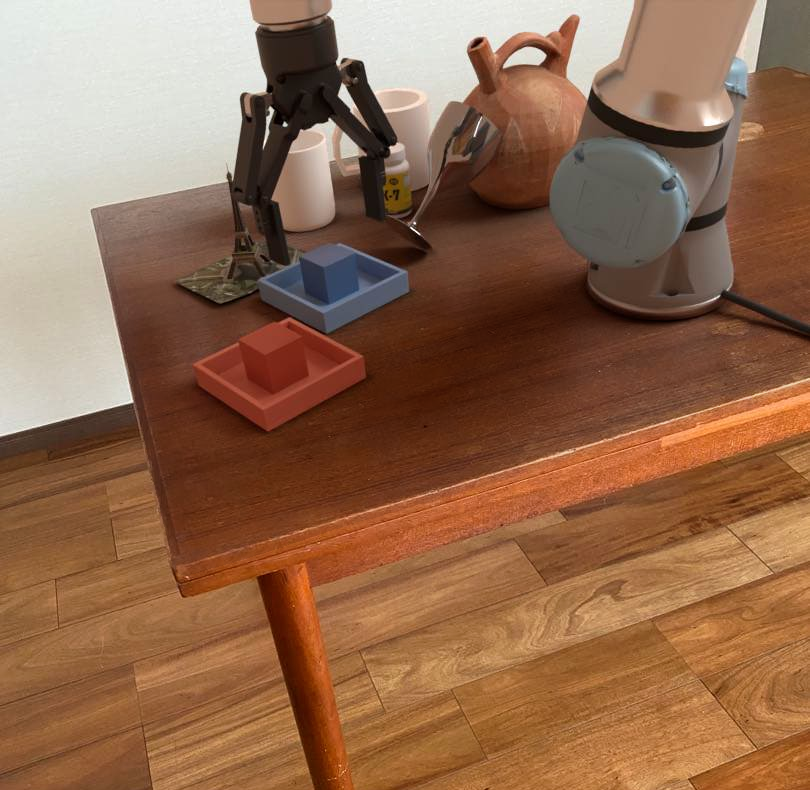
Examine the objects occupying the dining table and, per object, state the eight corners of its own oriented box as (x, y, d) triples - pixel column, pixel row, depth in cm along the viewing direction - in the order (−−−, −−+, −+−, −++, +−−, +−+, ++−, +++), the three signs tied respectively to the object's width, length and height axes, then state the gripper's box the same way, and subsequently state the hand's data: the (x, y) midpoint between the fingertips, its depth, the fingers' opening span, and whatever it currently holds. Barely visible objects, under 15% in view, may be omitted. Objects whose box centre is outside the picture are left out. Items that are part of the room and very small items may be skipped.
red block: (309, 375, 89) (302, 335, 86) (273, 394, 87) (264, 354, 83) (282, 360, 91) (274, 321, 88) (247, 378, 89) (237, 339, 86)
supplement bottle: (371, 218, 117) (364, 153, 111) (385, 204, 120) (378, 139, 114) (404, 221, 115) (399, 155, 110) (418, 206, 119) (413, 141, 113)
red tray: (366, 377, 88) (363, 355, 87) (267, 432, 83) (262, 410, 81) (293, 337, 95) (289, 316, 94) (198, 385, 90) (192, 364, 88)
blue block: (359, 290, 101) (354, 252, 98) (329, 304, 99) (323, 267, 96) (335, 278, 104) (329, 241, 101) (304, 293, 102) (298, 256, 99)
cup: (304, 237, 114) (291, 157, 107) (244, 218, 121) (228, 141, 114) (349, 214, 118) (338, 136, 112) (288, 197, 125) (275, 121, 118)
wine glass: (439, 261, 109) (506, 154, 108) (429, 237, 101) (500, 122, 100) (387, 230, 111) (452, 125, 109) (372, 204, 103) (442, 91, 102)
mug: (346, 203, 121) (336, 122, 114) (333, 177, 129) (322, 99, 122) (441, 186, 123) (437, 104, 116) (422, 161, 130) (417, 83, 123)
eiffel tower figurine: (273, 241, 114) (252, 133, 105) (322, 262, 108) (305, 150, 99) (175, 284, 107) (144, 173, 98) (222, 309, 102) (194, 194, 93)
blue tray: (409, 291, 101) (407, 271, 99) (326, 334, 95) (323, 313, 94) (342, 262, 108) (339, 242, 106) (261, 300, 103) (257, 280, 101)
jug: (552, 156, 128) (556, -3, 114) (617, 199, 115) (630, 25, 101) (433, 184, 124) (423, 23, 110) (487, 231, 111) (483, 55, 98)
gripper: (368, -13, 91) (391, 194, 105) (158, 50, 79) (216, 272, 94) (417, -8, 86) (435, 208, 100) (203, 60, 75) (257, 291, 89)
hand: (329, 239), depth 97 cm, fingers open, 13 cm apart
